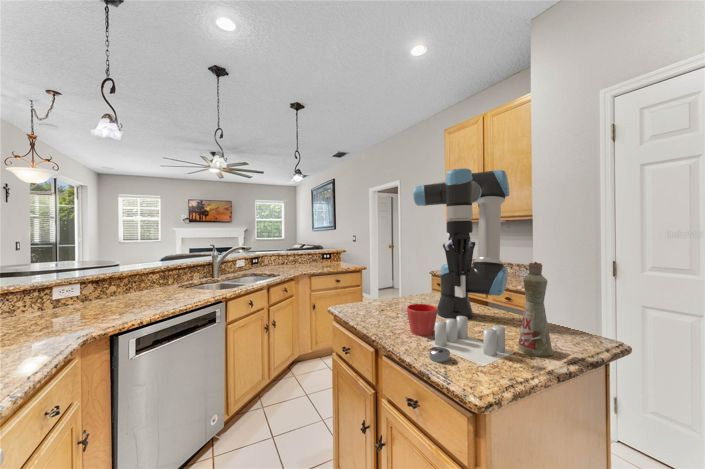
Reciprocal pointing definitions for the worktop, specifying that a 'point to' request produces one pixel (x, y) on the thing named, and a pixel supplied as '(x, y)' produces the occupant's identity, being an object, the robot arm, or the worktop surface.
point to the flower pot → (422, 319)
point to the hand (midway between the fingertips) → (460, 296)
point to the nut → (439, 354)
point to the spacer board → (470, 341)
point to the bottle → (535, 315)
